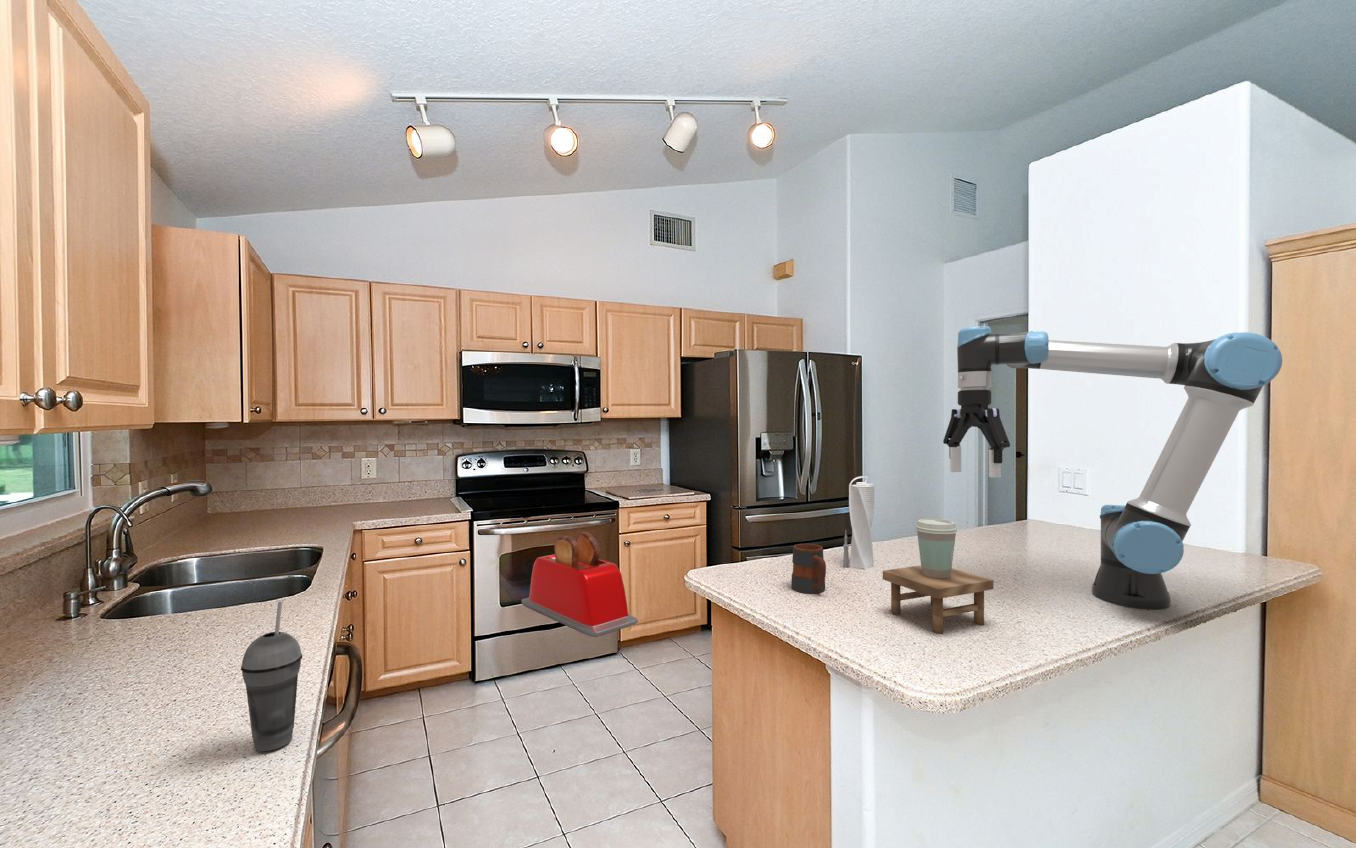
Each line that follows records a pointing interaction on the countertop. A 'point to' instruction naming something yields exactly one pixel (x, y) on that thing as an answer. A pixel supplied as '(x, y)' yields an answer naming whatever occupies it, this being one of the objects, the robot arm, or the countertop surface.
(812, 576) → the mug
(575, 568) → the toaster
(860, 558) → the skyscraper
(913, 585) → the stool
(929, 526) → the coffee cup
